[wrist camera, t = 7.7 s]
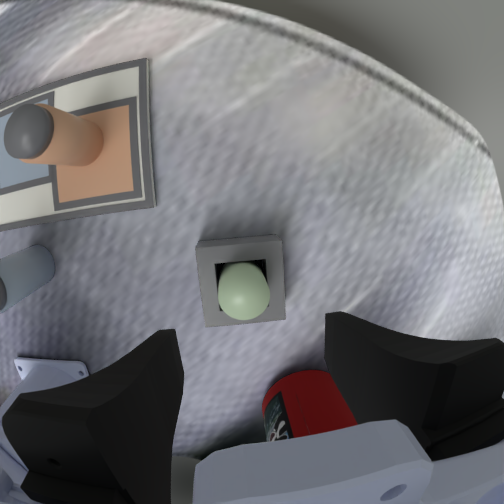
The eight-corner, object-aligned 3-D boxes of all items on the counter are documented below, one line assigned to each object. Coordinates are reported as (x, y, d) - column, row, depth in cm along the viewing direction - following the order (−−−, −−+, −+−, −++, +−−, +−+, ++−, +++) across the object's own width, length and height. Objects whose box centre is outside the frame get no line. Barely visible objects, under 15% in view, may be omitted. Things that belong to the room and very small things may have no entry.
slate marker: (58, 282, 20) (6, 320, 13) (29, 284, 19) (-24, 319, 13) (50, 242, 19) (-8, 267, 12) (21, 246, 19) (-37, 271, 12)
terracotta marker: (104, 162, 18) (47, 155, 11) (65, 170, 17) (1, 169, 11) (102, 117, 17) (47, 91, 10) (64, 127, 17) (2, 109, 10)
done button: (264, 297, 20) (271, 317, 17) (221, 301, 20) (221, 322, 17) (261, 255, 20) (268, 268, 16) (216, 259, 19) (215, 273, 16)
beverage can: (245, 388, 23) (261, 519, 11) (322, 349, 22) (389, 465, 11) (282, 435, 24) (310, 546, 13) (350, 401, 24) (407, 504, 12)
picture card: (156, 206, 19) (153, 207, 18) (-3, 231, 18) (-8, 233, 18) (148, 61, 17) (146, 57, 16) (-8, 110, 16) (-12, 109, 15)
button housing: (279, 306, 21) (285, 319, 19) (207, 313, 21) (205, 327, 19) (276, 234, 20) (282, 240, 18) (198, 241, 20) (195, 248, 18)
